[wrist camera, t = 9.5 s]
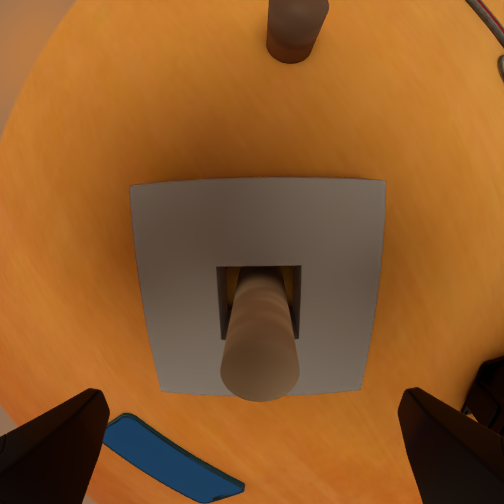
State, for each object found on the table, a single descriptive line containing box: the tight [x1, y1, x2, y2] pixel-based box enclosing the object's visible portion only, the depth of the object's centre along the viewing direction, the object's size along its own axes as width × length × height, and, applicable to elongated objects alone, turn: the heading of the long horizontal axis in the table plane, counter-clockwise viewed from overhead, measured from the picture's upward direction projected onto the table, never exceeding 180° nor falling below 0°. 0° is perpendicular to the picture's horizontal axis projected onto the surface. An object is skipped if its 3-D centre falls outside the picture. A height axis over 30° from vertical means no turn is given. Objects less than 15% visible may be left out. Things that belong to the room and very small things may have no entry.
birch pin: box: [220, 266, 300, 402], centre depth 14 cm, size 3×3×9 cm
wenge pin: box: [267, 0, 329, 63], centre depth 12 cm, size 3×3×5 cm
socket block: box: [129, 177, 386, 396], centre depth 16 cm, size 12×12×4 cm
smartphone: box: [103, 413, 245, 504], centre depth 24 cm, size 7×1×15 cm
